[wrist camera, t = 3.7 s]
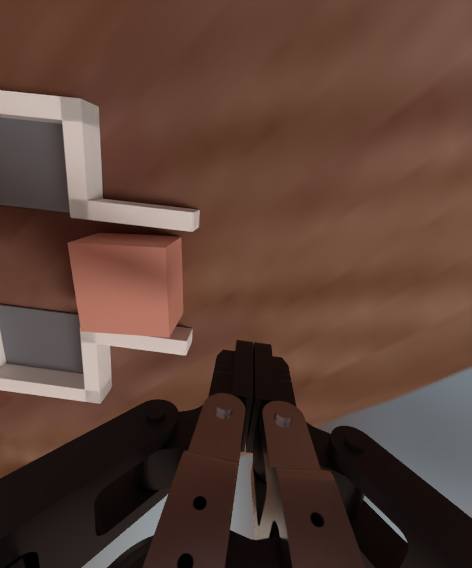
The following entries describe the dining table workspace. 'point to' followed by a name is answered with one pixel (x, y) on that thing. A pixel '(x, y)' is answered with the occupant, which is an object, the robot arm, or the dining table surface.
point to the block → (128, 283)
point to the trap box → (80, 204)
